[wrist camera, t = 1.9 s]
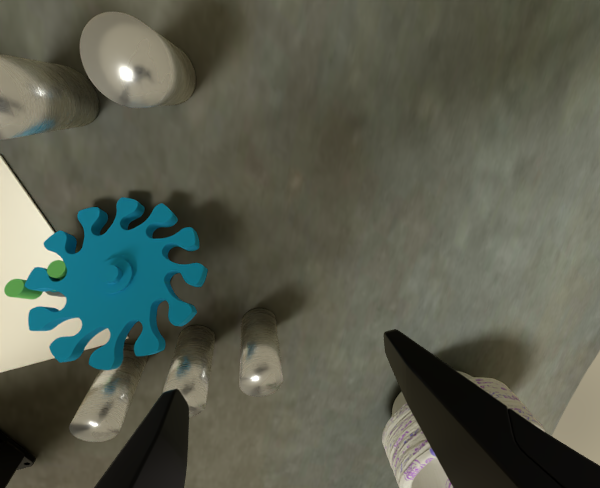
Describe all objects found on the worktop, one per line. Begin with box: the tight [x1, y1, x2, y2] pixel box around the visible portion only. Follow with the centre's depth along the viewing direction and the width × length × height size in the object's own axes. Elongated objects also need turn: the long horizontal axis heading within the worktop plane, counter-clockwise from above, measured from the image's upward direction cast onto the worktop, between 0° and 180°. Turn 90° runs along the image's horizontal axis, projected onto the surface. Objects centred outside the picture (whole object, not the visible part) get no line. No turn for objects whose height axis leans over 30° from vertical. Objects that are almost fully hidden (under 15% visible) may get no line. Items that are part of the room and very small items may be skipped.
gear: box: [4, 197, 208, 370], centre depth 18 cm, size 11×6×10 cm
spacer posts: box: [0, 12, 283, 442], centre depth 17 cm, size 14×22×6 cm, turn 11°
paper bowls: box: [382, 371, 545, 488], centre depth 31 cm, size 15×15×8 cm
